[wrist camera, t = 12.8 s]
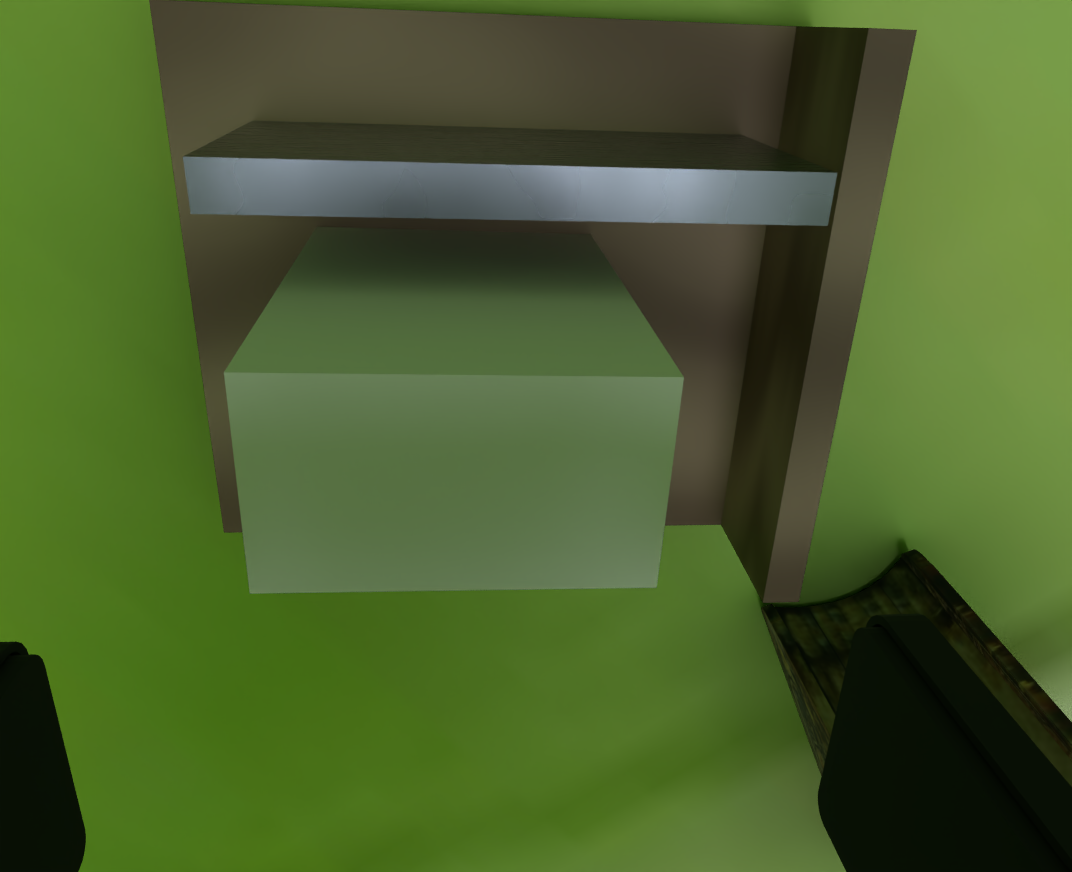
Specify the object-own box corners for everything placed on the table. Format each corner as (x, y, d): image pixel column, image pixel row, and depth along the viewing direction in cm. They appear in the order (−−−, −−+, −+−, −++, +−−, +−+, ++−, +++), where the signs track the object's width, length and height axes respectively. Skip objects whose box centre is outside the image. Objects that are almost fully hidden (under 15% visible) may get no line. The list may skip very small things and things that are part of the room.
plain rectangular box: (580, 376, 24) (656, 588, 15) (326, 374, 24) (249, 593, 15) (590, 234, 22) (683, 377, 14) (317, 226, 22) (224, 372, 13)
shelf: (737, 500, 28) (827, 650, 22) (235, 506, 27) (163, 671, 20) (813, 27, 22) (971, 31, 15) (168, 0, 21) (33, -8, 14)
